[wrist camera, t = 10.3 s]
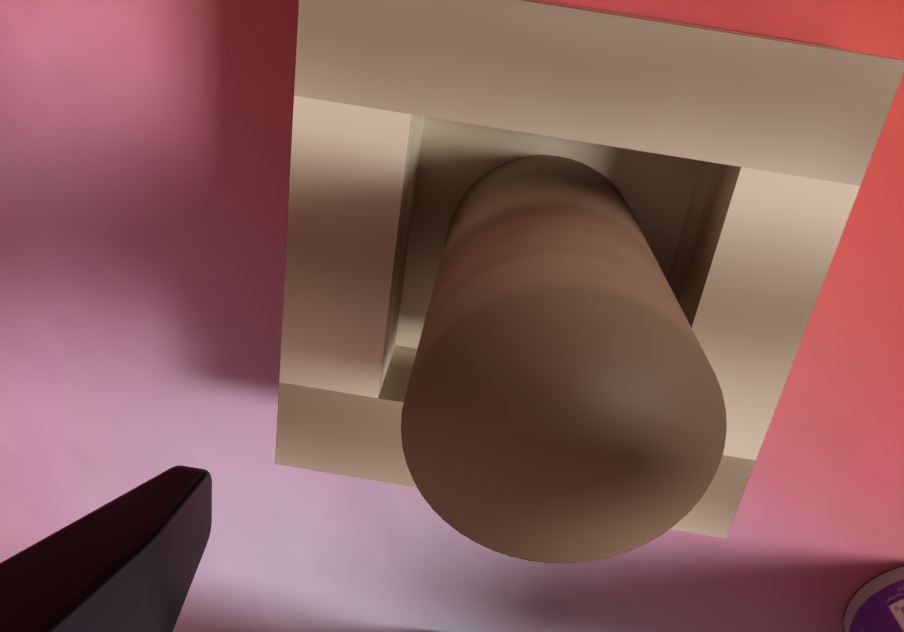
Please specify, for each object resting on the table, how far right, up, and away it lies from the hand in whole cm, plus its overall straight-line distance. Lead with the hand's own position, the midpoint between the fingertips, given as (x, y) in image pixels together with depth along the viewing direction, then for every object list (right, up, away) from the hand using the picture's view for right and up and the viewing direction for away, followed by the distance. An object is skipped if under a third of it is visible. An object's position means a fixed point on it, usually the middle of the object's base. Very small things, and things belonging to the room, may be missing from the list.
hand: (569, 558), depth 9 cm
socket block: (+1, +5, +12) cm, 13 cm away
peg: (+1, +5, +11) cm, 12 cm away
